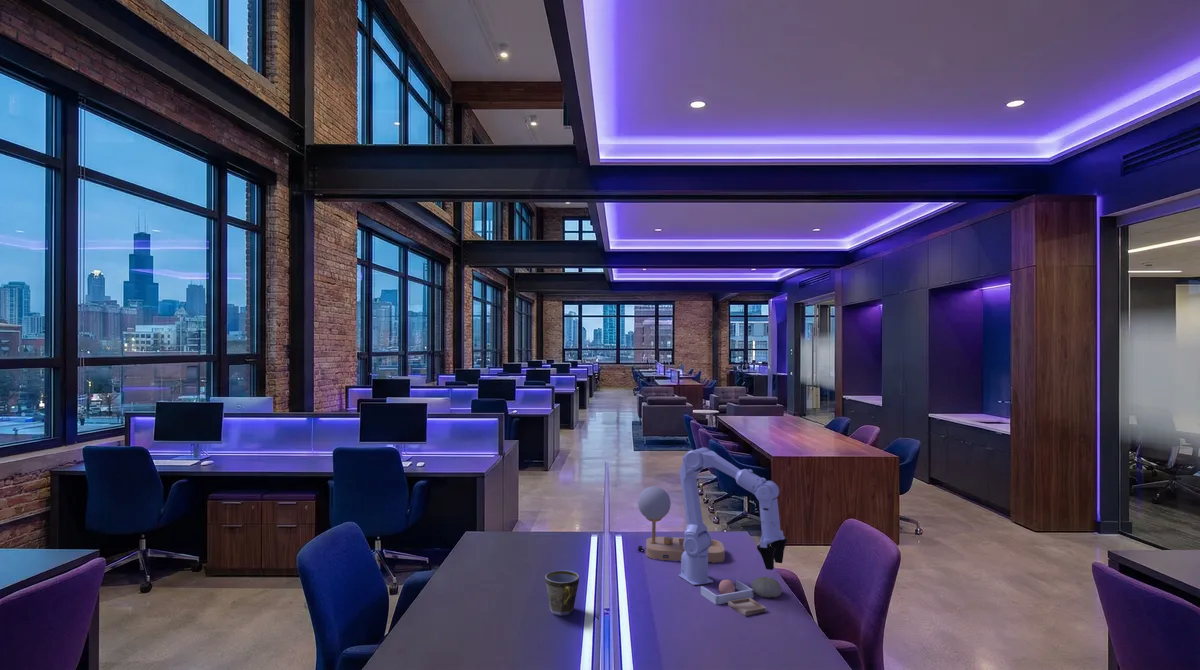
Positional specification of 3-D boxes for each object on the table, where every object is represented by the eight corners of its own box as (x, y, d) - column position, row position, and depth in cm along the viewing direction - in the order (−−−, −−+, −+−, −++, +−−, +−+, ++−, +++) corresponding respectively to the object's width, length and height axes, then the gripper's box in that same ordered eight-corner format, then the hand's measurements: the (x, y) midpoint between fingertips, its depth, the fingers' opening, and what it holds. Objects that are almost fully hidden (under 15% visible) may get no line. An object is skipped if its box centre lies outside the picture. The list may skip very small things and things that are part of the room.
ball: (715, 594, 187) (715, 578, 187) (728, 591, 189) (728, 576, 189) (725, 600, 182) (725, 583, 182) (738, 597, 184) (738, 581, 184)
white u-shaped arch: (700, 594, 186) (700, 586, 186) (737, 588, 192) (737, 580, 192) (716, 604, 179) (716, 596, 179) (753, 597, 184) (753, 589, 185)
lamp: (720, 548, 232) (721, 484, 233) (726, 564, 215) (727, 494, 216) (637, 544, 235) (638, 481, 235) (636, 559, 217) (637, 491, 218)
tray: (727, 605, 178) (728, 601, 178) (749, 601, 182) (749, 597, 182) (744, 616, 171) (744, 611, 171) (766, 611, 174) (766, 607, 174)
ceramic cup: (540, 605, 175) (541, 572, 175) (572, 601, 179) (573, 568, 179) (552, 624, 163) (553, 588, 163) (586, 619, 166) (587, 584, 167)
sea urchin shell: (786, 595, 183) (767, 575, 184) (767, 611, 184) (748, 591, 185) (782, 584, 192) (765, 564, 193) (764, 599, 192) (747, 580, 194)
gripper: (773, 527, 176) (778, 574, 175) (790, 517, 188) (795, 561, 186) (751, 525, 180) (755, 571, 179) (769, 515, 192) (773, 558, 191)
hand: (774, 565), depth 183 cm, fingers open, 7 cm apart
